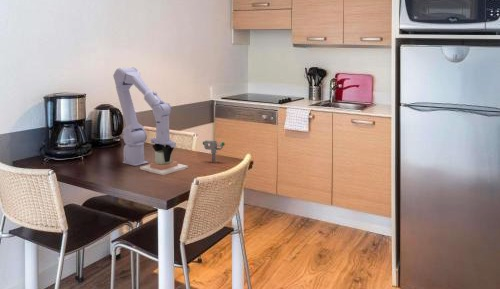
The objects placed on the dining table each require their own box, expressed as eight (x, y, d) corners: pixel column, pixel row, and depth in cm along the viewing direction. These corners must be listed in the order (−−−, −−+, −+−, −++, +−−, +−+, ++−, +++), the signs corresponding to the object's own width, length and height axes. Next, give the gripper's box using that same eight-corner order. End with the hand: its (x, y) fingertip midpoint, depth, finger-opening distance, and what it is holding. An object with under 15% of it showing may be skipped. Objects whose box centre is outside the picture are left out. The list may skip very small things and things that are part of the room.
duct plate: (139, 169, 201) (139, 163, 201) (165, 162, 213) (165, 156, 212) (162, 175, 192) (162, 168, 192) (187, 168, 204) (187, 162, 203)
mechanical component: (223, 163, 212) (223, 142, 210) (202, 162, 214) (202, 141, 212) (225, 161, 215) (224, 141, 213) (204, 160, 217) (204, 140, 215)
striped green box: (165, 164, 206) (165, 149, 204) (171, 165, 203) (171, 150, 202) (155, 167, 201) (154, 151, 199) (161, 168, 199) (160, 152, 197)
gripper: (144, 130, 200) (146, 159, 203) (167, 134, 192) (168, 165, 194) (157, 128, 206) (158, 157, 209) (179, 131, 197) (180, 162, 200)
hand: (163, 160), depth 202 cm, fingers closed on striped green box, 4 cm apart
